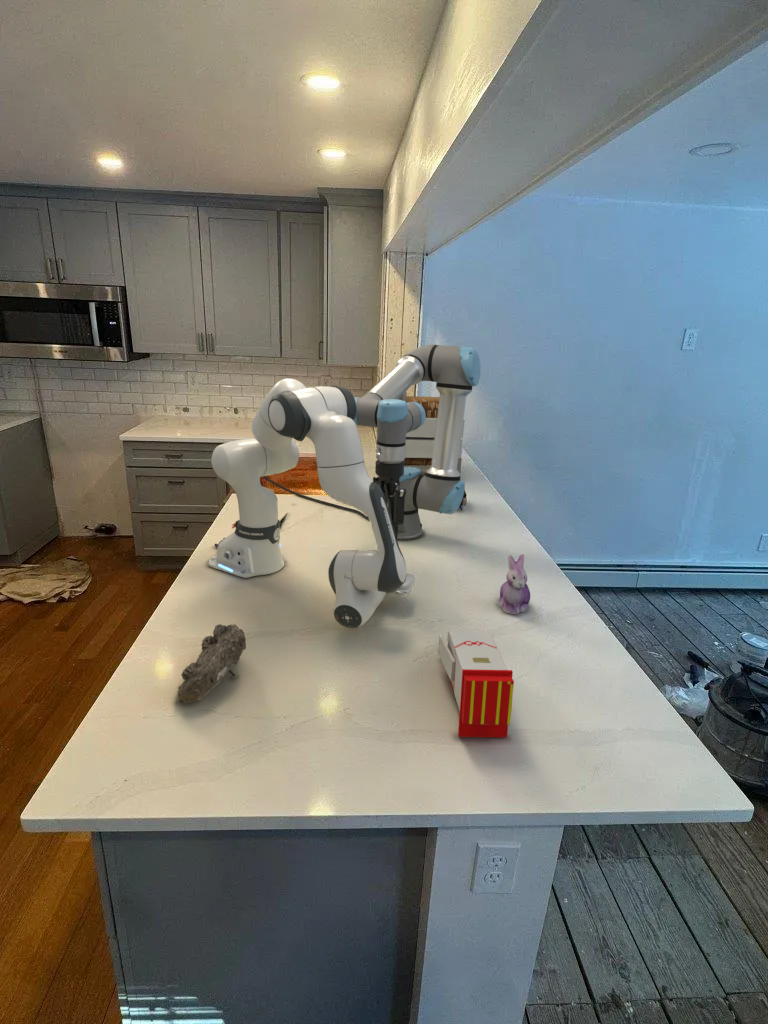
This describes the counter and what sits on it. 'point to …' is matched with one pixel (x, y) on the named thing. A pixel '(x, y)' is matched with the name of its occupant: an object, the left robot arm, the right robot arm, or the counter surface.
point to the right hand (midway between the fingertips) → (386, 542)
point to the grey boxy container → (424, 434)
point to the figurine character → (463, 501)
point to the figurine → (515, 588)
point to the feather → (282, 520)
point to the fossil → (212, 662)
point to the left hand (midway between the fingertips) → (385, 567)
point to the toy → (478, 682)
